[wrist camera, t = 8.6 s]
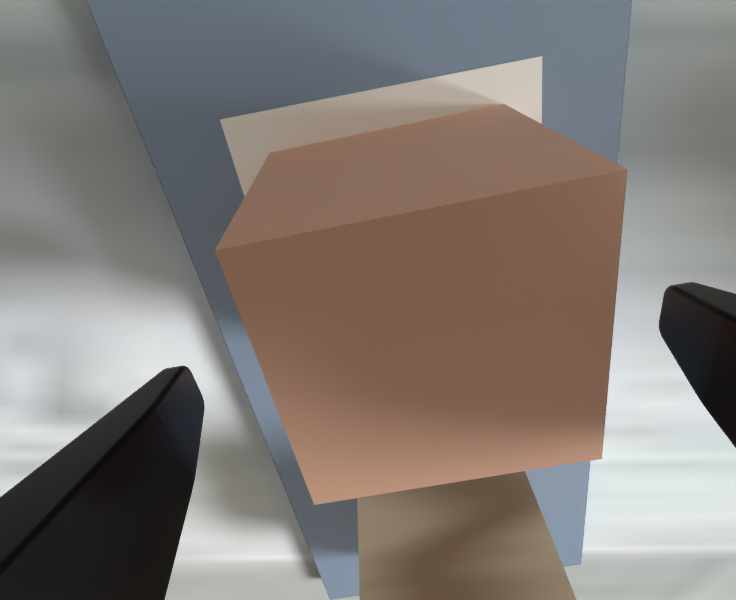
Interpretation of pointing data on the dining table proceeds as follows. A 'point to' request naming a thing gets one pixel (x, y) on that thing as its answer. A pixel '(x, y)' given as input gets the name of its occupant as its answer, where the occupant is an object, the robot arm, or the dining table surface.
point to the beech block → (459, 544)
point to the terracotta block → (432, 300)
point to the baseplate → (341, 119)
